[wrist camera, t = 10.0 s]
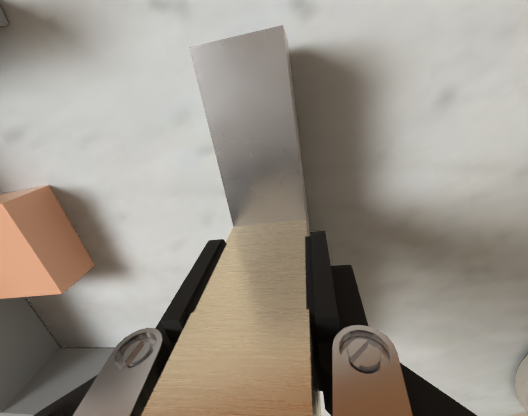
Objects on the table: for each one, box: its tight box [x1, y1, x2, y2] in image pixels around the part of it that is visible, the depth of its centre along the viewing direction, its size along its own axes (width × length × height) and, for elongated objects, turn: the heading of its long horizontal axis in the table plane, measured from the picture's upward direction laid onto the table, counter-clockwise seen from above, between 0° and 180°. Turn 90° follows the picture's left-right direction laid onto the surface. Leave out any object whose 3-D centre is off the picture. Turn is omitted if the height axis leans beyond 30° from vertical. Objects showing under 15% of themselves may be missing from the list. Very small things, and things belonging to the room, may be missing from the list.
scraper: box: [141, 25, 321, 416], centre depth 9 cm, size 3×16×10 cm, turn 10°
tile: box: [0, 185, 95, 299], centre depth 16 cm, size 6×6×3 cm
